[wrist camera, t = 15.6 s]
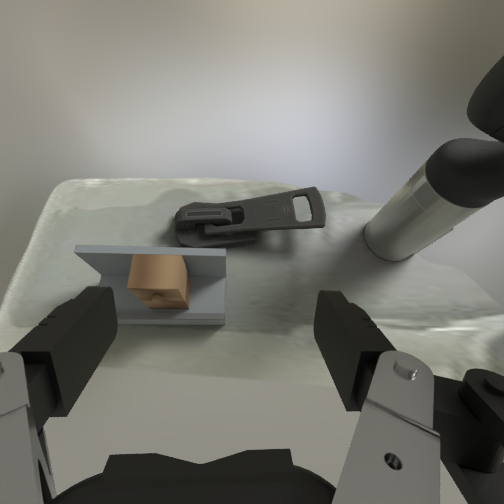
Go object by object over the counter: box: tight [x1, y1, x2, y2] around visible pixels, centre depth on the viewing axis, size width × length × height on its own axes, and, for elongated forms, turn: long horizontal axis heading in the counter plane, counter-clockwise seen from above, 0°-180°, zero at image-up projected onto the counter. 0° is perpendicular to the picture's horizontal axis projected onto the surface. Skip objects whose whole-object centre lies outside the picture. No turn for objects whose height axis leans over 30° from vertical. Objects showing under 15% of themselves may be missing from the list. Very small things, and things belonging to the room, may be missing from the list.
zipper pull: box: [175, 187, 326, 249], centre depth 47 cm, size 9×7×25 cm
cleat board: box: [74, 245, 226, 325], centre depth 38 cm, size 18×7×12 cm, turn 90°
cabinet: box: [127, 254, 192, 309], centre depth 35 cm, size 5×5×10 cm
